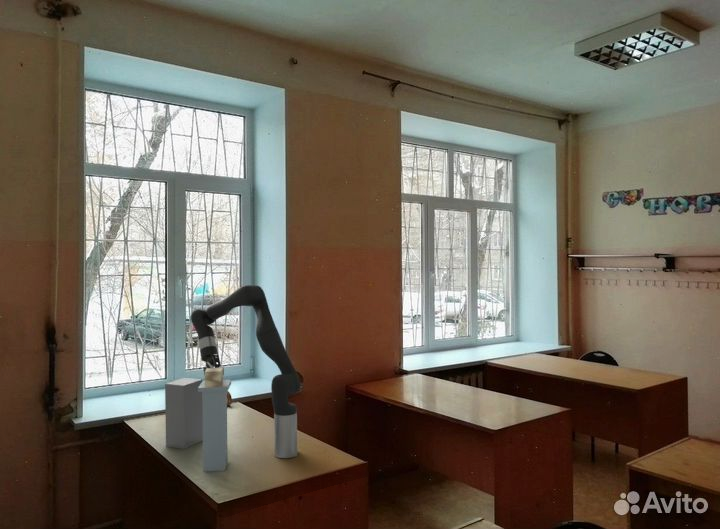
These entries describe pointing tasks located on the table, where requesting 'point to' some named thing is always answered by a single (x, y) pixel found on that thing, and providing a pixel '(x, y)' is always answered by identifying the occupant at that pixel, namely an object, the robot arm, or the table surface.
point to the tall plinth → (214, 426)
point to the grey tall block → (183, 413)
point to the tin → (229, 398)
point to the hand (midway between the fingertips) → (214, 382)
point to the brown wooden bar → (214, 377)
